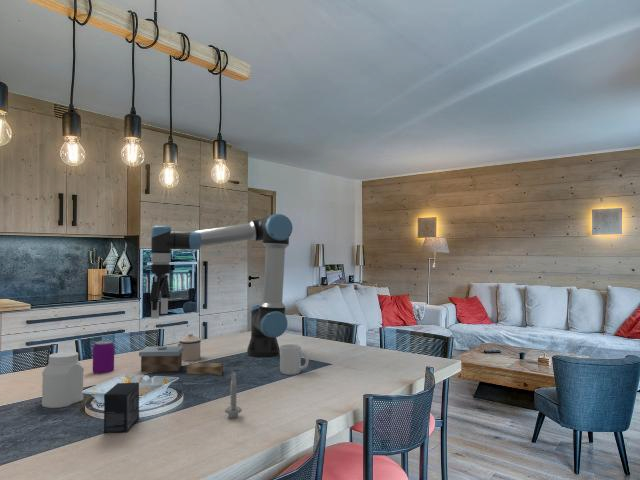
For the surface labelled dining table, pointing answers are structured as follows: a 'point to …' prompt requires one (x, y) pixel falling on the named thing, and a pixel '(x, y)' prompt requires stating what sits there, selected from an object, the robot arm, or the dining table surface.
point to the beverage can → (103, 357)
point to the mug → (292, 359)
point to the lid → (162, 351)
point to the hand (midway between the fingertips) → (159, 315)
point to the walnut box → (161, 363)
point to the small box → (121, 407)
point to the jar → (62, 380)
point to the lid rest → (205, 368)
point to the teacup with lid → (190, 348)
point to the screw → (233, 399)
